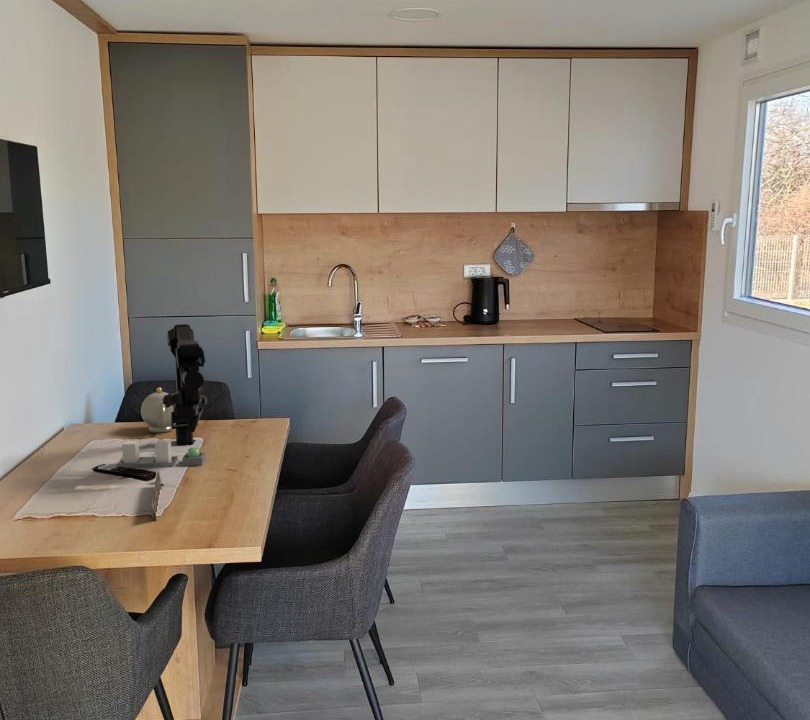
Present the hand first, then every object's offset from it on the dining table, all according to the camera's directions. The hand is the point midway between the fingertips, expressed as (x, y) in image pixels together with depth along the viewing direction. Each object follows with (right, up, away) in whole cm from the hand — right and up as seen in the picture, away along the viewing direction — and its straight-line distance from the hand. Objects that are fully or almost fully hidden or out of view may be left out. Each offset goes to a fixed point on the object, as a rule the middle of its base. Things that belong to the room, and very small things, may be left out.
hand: (192, 432), depth 252 cm
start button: (0, -9, +1) cm, 9 cm away
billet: (-20, -10, +1) cm, 22 cm away
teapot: (-23, -4, +44) cm, 50 cm away
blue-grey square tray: (-20, -9, +11) cm, 25 cm away
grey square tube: (0, -11, +2) cm, 11 cm away
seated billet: (-9, -10, +1) cm, 14 cm away
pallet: (-14, -11, +1) cm, 18 cm away
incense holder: (-2, -17, -30) cm, 35 cm away
